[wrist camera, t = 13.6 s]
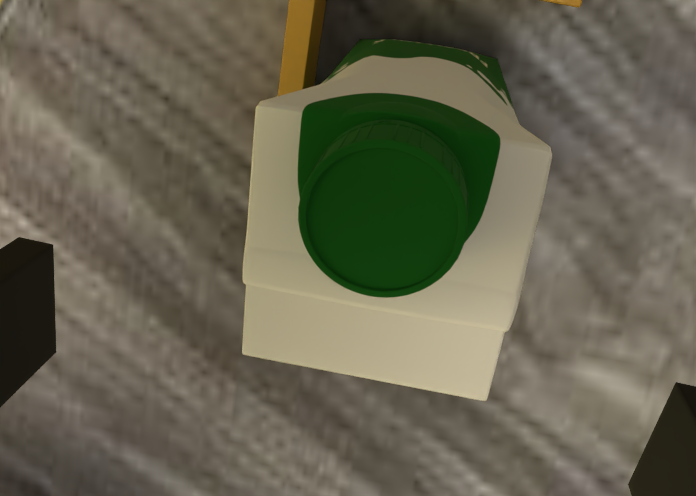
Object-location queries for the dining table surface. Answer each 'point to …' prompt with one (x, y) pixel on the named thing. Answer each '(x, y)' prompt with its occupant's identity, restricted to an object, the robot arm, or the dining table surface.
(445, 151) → the soya milk
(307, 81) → the frame
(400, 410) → the dining table surface
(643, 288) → the dining table surface
